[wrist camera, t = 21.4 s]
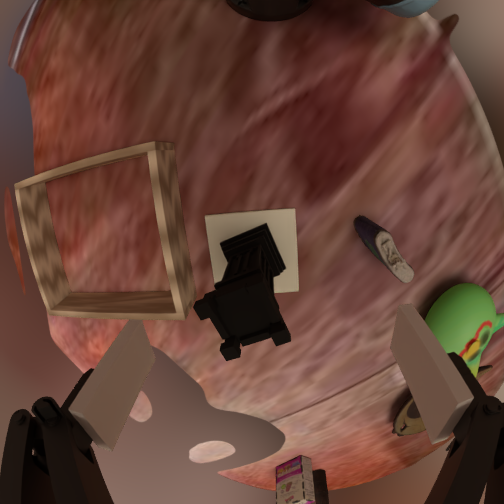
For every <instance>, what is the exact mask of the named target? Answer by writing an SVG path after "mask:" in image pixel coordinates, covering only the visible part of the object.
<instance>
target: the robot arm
mask: <svg viewBox="0 0 504 504" xmlns="http://www.w3.org/2000/svg"><path fill="white" fill-rule="evenodd" d="M226 1H227V2H228V4H229V5H230V6H231V7H232V8H233V9H234V10H235V11H237V12H238V13H240V14H242V15H244V16H246V17H249V18H252V19H256V20H262V21H280V20H286V19H290V18H293V17H296V16H298V15H300V14H302V13H303V12H305V11H306V10H307V9H308V8H309V7H310V6H311V4H312V2H313V0H226ZM366 1H368V2H370V3H371V4H372V5H373V6H375V7H378V8H382V9H385V10H387V11H389V12H391V13H393V14H395V15H397V16H400V17H406V18H410V17H415V16H418V15H420V14H422V13H424V12H426V11H427V10H428V9H430V8H431V7H432V6H433V5H435V4H436V3H437V2H438V1H439V0H366ZM390 348H391V350H392V353H393V355H394V357H395V359H396V361H397V363H398V365H399V367H400V369H401V372H402V374H403V376H404V378H405V380H406V383H407V385H408V387H409V389H410V392H411V394H412V396H413V398H414V401H415V403H416V406H417V408H418V410H419V413H420V415H421V418H422V420H423V423H424V425H425V428H426V430H427V433H428V435H429V438H430V440H431V443H432V444H435V443H437V442H440V441H443V440H446V439H447V438H448V437H449V436H450V434H451V433H452V431H453V433H454V435H455V438H454V439H453V441H452V442H451V443H450V445H449V446H448V447H447V449H446V451H448V450H449V452H448V454H447V457H446V459H445V462H444V464H443V467H442V469H441V471H440V473H439V475H438V478H437V480H436V482H435V484H434V486H433V488H432V490H431V492H430V494H429V496H428V498H427V500H426V501H425V503H424V504H479V502H480V499H481V497H482V494H483V491H484V488H485V485H486V482H487V485H486V492H485V500H484V504H504V403H501V401H499V399H498V398H496V397H493V396H487V395H486V394H485V392H484V390H483V389H482V387H481V385H480V384H479V382H478V381H477V379H476V378H475V376H474V375H473V373H471V370H470V369H469V367H467V364H466V363H465V361H464V360H463V358H462V357H460V356H459V355H458V354H456V353H455V352H451V353H446V352H445V350H444V349H443V347H442V346H441V344H440V343H439V341H438V340H437V338H436V337H435V335H434V334H433V332H432V331H431V330H430V328H429V327H428V325H427V324H426V323H425V321H424V320H423V318H422V317H421V316H420V314H419V313H418V312H417V310H416V309H415V308H414V306H413V305H412V304H405V305H399V306H398V312H397V317H396V322H395V328H394V332H393V337H392V342H391V346H390ZM155 359H156V358H155V356H154V353H153V350H152V348H151V345H150V342H149V339H148V337H147V334H146V331H145V328H144V325H143V322H142V320H135V319H130V320H129V321H128V322H127V324H126V325H125V326H124V328H123V329H122V331H121V332H120V333H119V335H118V336H117V338H116V339H115V340H114V342H113V343H112V345H111V346H110V347H109V349H108V350H107V352H106V353H105V355H104V356H103V357H102V359H101V360H100V362H99V363H98V365H97V366H96V368H95V369H92V368H91V369H89V370H88V371H87V372H86V373H84V374H83V375H82V377H81V378H80V380H79V381H78V383H77V384H76V385H75V387H74V389H73V390H72V392H71V393H70V394H69V396H68V398H67V399H66V400H65V402H64V404H63V405H62V407H61V408H60V407H59V406H58V404H57V403H56V401H55V400H54V399H53V398H51V397H42V398H40V399H38V400H37V401H36V402H35V403H34V404H33V406H32V412H33V414H34V415H35V416H36V417H33V416H32V415H31V414H30V413H29V411H27V410H26V409H20V410H18V411H16V412H15V413H14V414H13V415H12V417H11V419H10V423H9V427H8V432H7V437H6V442H5V447H4V452H3V458H2V465H1V473H0V504H114V503H113V500H112V498H111V496H110V493H109V491H108V489H107V486H106V484H105V481H104V479H103V476H102V473H101V471H100V468H99V465H98V462H97V460H96V457H95V454H94V451H93V449H92V447H91V445H90V444H91V443H92V441H94V442H95V443H96V445H97V446H98V447H100V448H103V449H106V450H109V451H113V449H114V447H115V444H116V442H117V440H118V438H119V435H120V433H121V431H122V429H123V427H124V425H125V422H126V420H127V418H128V416H129V414H130V412H131V409H132V407H133V405H134V403H135V401H136V399H137V397H138V394H139V392H140V390H141V388H142V386H143V384H144V382H145V380H146V378H147V375H148V374H149V371H150V369H151V367H152V365H153V363H154V361H155ZM32 449H33V450H34V455H32Z"/></svg>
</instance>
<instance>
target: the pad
mask: <svg viewBox="0 0 504 504" xmlns="http://www.w3.org/2000/svg"><path fill="white" fill-rule="evenodd" d="M205 222H206V229H207V236H208V243H209V250H210V257H211V263H212V270H213V276H214V282H215V283H216V282H219V281H221V280H222V277H223V275H224V272H225V269H226V266H227V264H228V262H227V260H226V258H225V256H224V254H223V251H222V249H221V246H220V242H222V241H224V240H227V239H229V238H232V237H234V236H236V235H239V234H241V233H243V232H246V231H248V230H251V229H253V228H255V227H258V226H260V225H263V224H265V223H267V225H268V227H269V229H270V232H271V234H272V236H273V239H274V241H275V243H276V245H277V248H278V250H279V252H280V255H281V257H282V259H283V262H284V264H285V266H286V269H285V270H283V272H282V273H280V275H279V276H276V277H274V293H281V292H295V291H299V282H298V256H297V235H296V217H295V208H283V209H269V210H256V211H244V212H233V213H222V214H212V215H205Z"/></svg>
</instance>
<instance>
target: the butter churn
mask: <svg viewBox="0 0 504 504" xmlns="http://www.w3.org/2000/svg"><path fill="white" fill-rule="evenodd" d="M312 474H313V483H314V494H315V501H316V504H329V499H328V489H327V481H326V473H325V470H315V471H312Z"/></svg>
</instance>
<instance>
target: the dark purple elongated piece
mask: <svg viewBox="0 0 504 504" xmlns="http://www.w3.org/2000/svg"><path fill="white" fill-rule="evenodd" d="M354 226H355V230H356V231H357V233H358V235H359V237H360V238H361V240H362V242H363V243H364V244H365V245H366V246H367V247H368V248H369V249H370V251H371V252H372V253H373V254H374V255H375V256H376V257H377V258H378V259H379V260H380V261H381V262H382V263H383V264H384V265H385V266H386V267H387V268H388V269H389V270H390V271H391V272H392V274H393V275H394V276H396V277H397V278H398V279H399V280H400V281H401V282H403V283H408V282H410V281H411V280H412V278H413V276H414V271H413V268H412V267H411V266H410V265H409V264H407V263H406V260H405V259H404V258H403V257H402V256H401V254H400V253H399V251H398V250H397V248H396V246H395V244H394V242H393V238H392V236H391V235H390V233H389V232H388V231H387V230H385V229H384V228H382V227H380V226H379V225H377V224H375V223H374V222H372V221H371V220H369V219H368V218H366V217H365V216H361V215H359V216H358V217H357V218H355V220H354Z"/></svg>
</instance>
